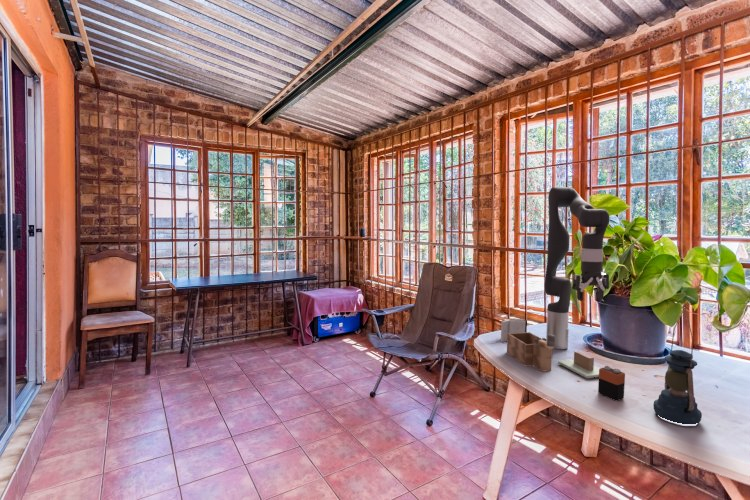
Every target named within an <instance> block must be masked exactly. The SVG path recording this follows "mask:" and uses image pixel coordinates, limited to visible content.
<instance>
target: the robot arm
mask: <svg viewBox="0 0 750 500" xmlns="http://www.w3.org/2000/svg"><path fill="white" fill-rule="evenodd" d="M580 195H581V194H579V193H578V192H577V191H576V189H574V187H569V186H568V187H566V186H564V187H563V186H562V187H561V186H556V187H555V186H554V187H551V188H550V190H549V191H548V198H547V199H548V233H547V254H546V255H547V259H546V268H545V269H546V270H545V275H544V293H545V294H546V295H548V296H551V297H557V298H558V301H555V302H550V303H548V304H547V311H546V316H547V317H546V333H545V334H546V335H545V337H546V338H545V339H546V341H547V335H548V334H551V335H555V346H554V349H555V350H568V348H569V330H570V329H569V313H570V304H571V294H572V290H575V291H577V292H576V294H577V295H576V299H577V300H578V301H579V302H583V301H584V290H585V289H586V288H588V287H589V286H595V287H596V288H597V295H596V296H597V297H596V299H597V300H600V301H602V300H603V299H604V298H605V297H604V295H605V290H609V289H610V276H609V274H608V273H602V272H603V268H604V267H603V264H604V249H603V248H604V247H603V245H604V237H605V233H606V231H607V228H608V225H609V222H610V213H609V212H608V210H606V209H605V208H595V207H594V206H592V204H590V203H589V202H587V201H586V200H584V199H583V198H582V197H581V196H580ZM559 208H569V211H570V212H571V214H572V215H573V216H574V217H576V218H577V222H578V224H579V225H580V226H581V227H584V228H594V230H593V231H591V232H588V233H585V234H583V236H582V246H581V247H582V248H581V249H582V250H581V255H580V257H581V258H580V272H581V273H580V274H573V278H572V282H571V280H570V279H569V278H567V277H560V276H557V270H558V266H559V265H560V263H561V262H562V261H563V259H564V258H565V257H566V255H567V254H568V253H569V250H570V240H571V239H570V234H569V231H568V229H567V227H565V224H564V223H563V222H562V220H561V217H560V214H559V213H560V212H559Z"/></svg>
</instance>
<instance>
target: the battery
mask: <svg viewBox="0 0 750 500" xmlns="http://www.w3.org/2000/svg"><path fill="white" fill-rule="evenodd" d="M625 383H626V373H625V372H623V371H621V369H619V368H612V367H610V366H608V365H605V366H604V367H602V368H601V367H600V369H599V377H598V385H597V386H598V388H597V394H599V395H601V394H602V395H601V396H604V397H606V396H607V397H606V398H608V397H609V399H611V398H612V399H611V400H613V399H614V400H613V401H615V400H617V401H619V399H620V400H623V399H624V397H625ZM622 398H623V399H622Z"/></svg>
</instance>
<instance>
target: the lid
mask: <svg viewBox="0 0 750 500" xmlns="http://www.w3.org/2000/svg"><path fill="white" fill-rule="evenodd" d="M594 363H595V357H593V356H590V355H588V354H587V353H584V352H582V351H580V350H575V351H574V352H573V359H572V358H570V359H563V360H562V359H561V360H558V361H557V364H559V365H560V366H563V367H564V368H566V369H568V370H571V371H572V372H574V373H576V374H578V375H579V376H581V377H584V378H585V379H592V378H594V377H595V378H599V369H600V368H601V367H599V366H597V365H595V364H594ZM595 378H594V379H595Z"/></svg>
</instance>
